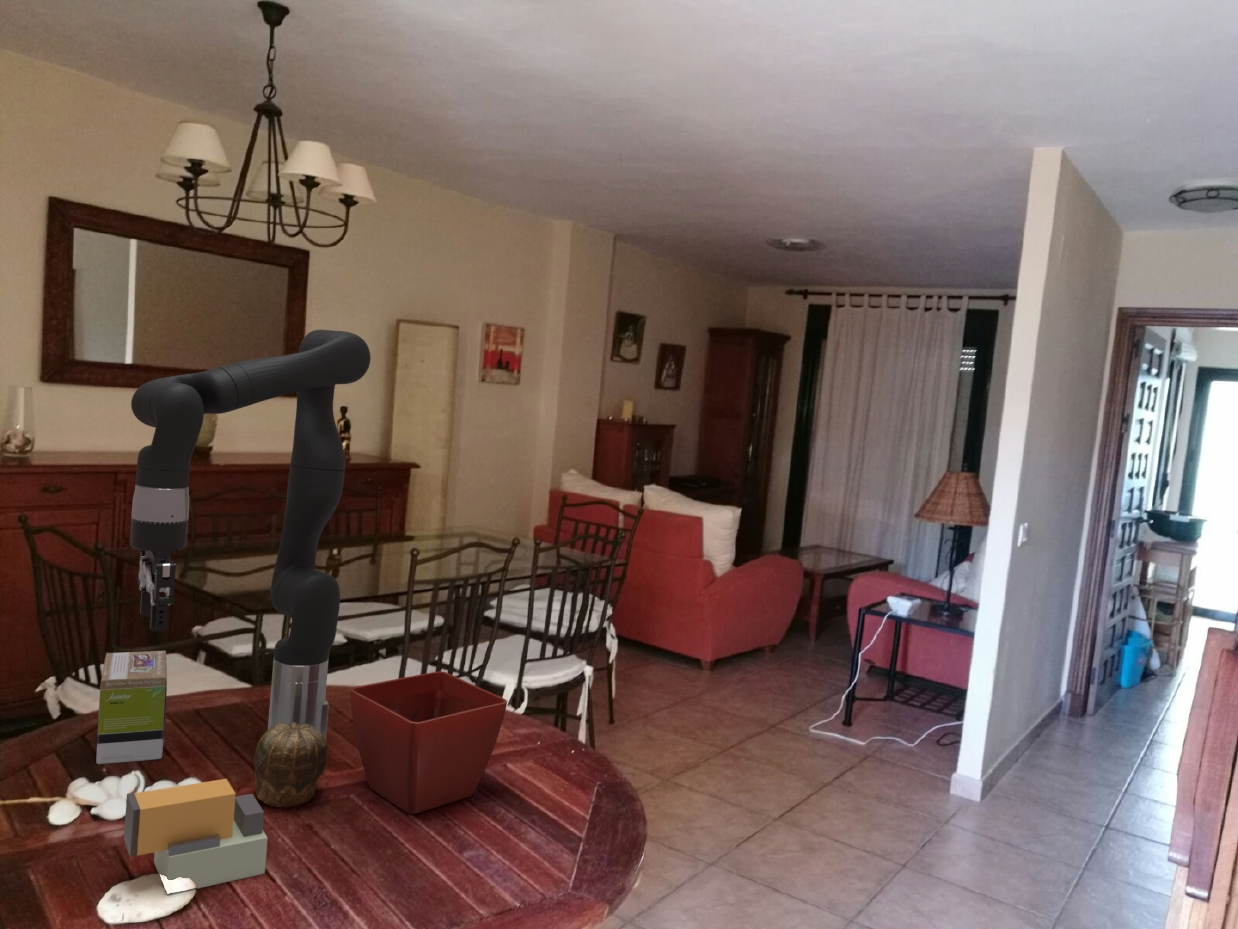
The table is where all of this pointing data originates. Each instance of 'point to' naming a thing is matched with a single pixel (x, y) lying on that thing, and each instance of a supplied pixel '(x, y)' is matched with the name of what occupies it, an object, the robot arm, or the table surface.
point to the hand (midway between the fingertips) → (153, 622)
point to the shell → (289, 764)
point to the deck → (220, 850)
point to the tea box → (132, 707)
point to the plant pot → (425, 737)
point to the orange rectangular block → (178, 815)
